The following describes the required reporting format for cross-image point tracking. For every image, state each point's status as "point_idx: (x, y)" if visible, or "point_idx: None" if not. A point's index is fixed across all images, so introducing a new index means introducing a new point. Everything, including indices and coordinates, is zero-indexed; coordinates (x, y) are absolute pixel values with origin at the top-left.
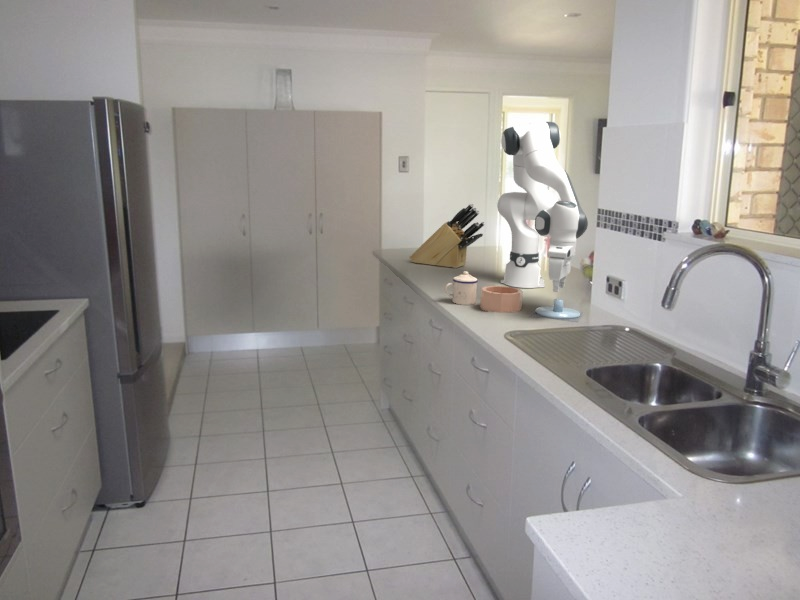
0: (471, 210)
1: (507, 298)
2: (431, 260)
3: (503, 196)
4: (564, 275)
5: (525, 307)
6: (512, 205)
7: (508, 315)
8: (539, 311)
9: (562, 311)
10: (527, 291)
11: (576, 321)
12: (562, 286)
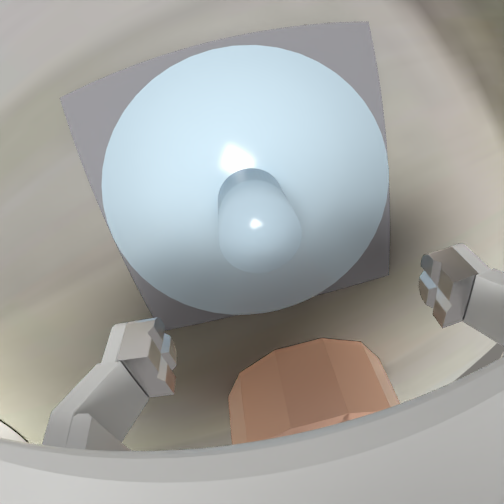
0: None
1: (391, 399)
2: None
3: None
4: (447, 412)
5: (204, 362)
6: None
7: (389, 333)
8: (336, 269)
9: (234, 172)
10: (13, 413)
11: (357, 27)
12: (158, 331)
